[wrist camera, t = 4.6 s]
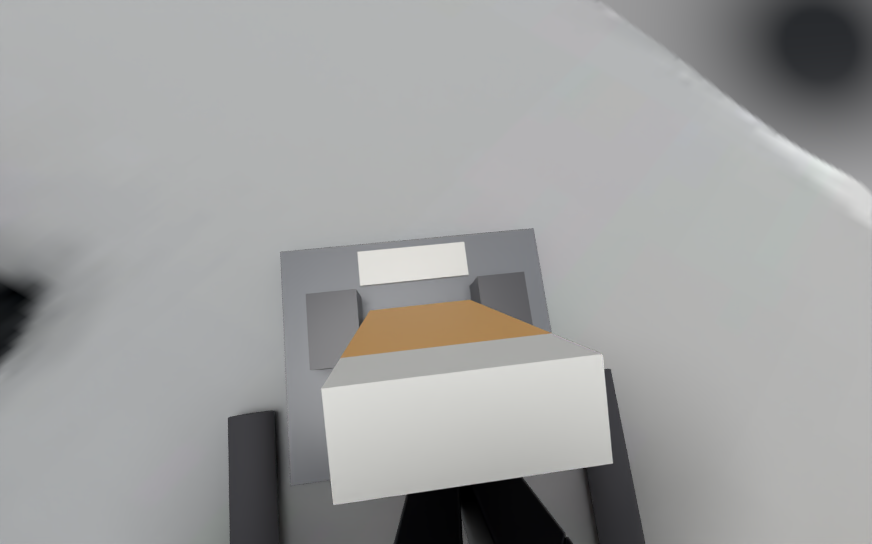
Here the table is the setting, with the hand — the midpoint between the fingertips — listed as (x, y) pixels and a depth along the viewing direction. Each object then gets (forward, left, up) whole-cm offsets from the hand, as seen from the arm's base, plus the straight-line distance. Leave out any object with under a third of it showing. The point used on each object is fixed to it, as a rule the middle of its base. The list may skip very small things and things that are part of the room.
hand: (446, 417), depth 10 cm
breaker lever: (+1, -3, -8) cm, 9 cm away
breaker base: (+1, -3, -10) cm, 11 cm away
